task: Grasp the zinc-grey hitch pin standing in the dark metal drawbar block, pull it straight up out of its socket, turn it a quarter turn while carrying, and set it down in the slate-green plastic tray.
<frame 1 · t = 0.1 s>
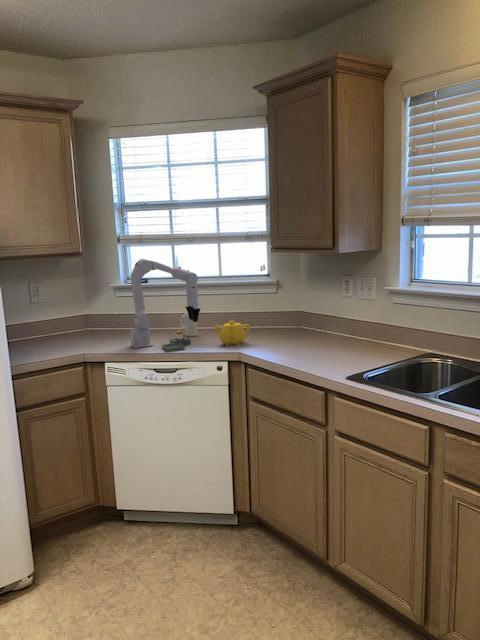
hand: (193, 320, 287), 10 cm above the counter, fingers open, 7 cm apart
drawbar block: (180, 344, 279), on the counter
teapot: (232, 345, 272), on the counter
hitch pin: (179, 337, 278), in the drawbar block
mug: (189, 335, 301), on the counter
tray: (173, 348, 269), on the counter
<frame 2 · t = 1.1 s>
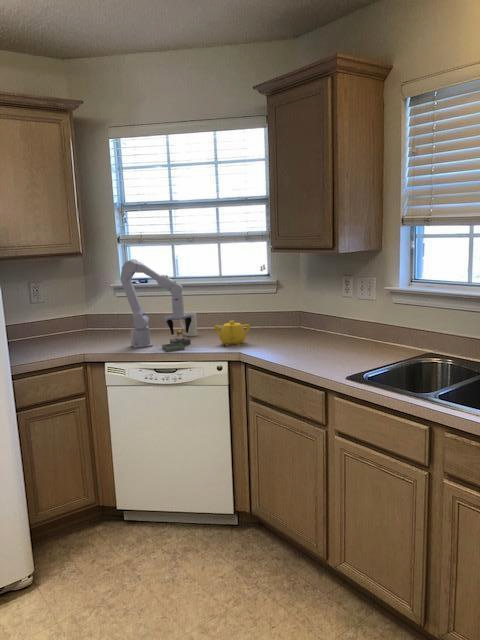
hand: (179, 333, 278), 6 cm above the counter, fingers open, 7 cm apart
nothing on the counter moved.
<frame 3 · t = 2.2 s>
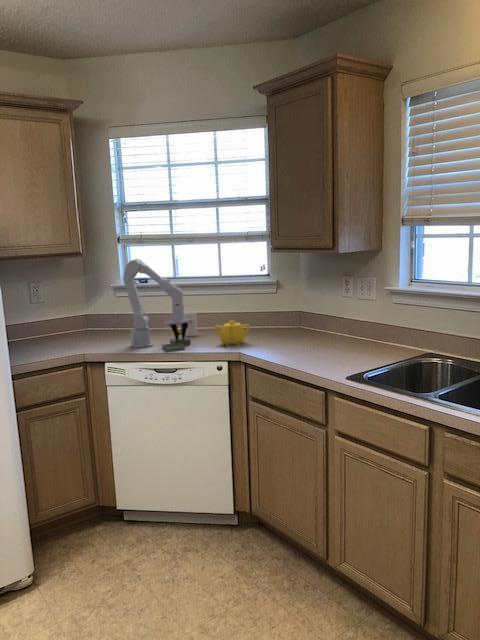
hand: (180, 338, 278), 3 cm above the counter, fingers closed on hitch pin, 3 cm apart
hitch pin: (179, 337, 278), in the drawbar block, touching gripper
everything else where it was.
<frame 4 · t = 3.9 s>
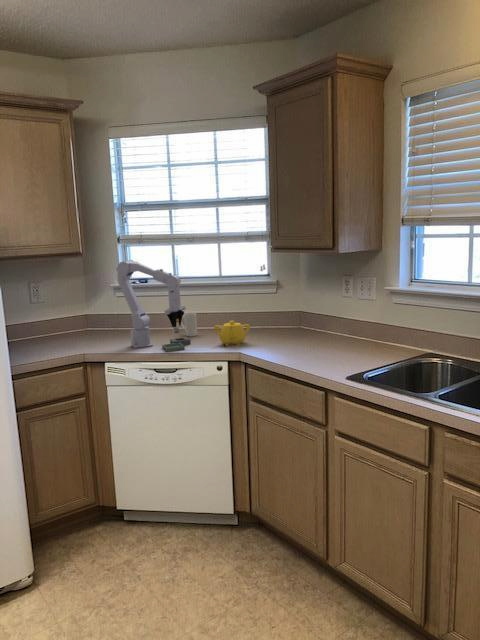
hand: (176, 326, 273), 10 cm above the counter, fingers closed on hitch pin, 3 cm apart
hitch pin: (176, 325, 273), point 10 cm above the counter, touching gripper
everything else where it was.
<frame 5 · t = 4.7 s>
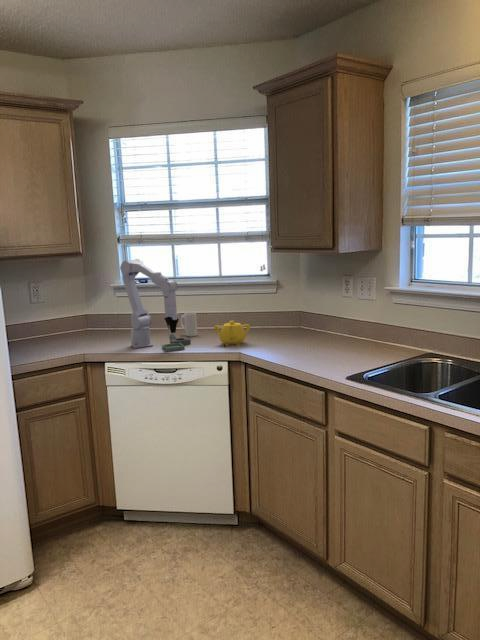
hand: (172, 332, 268), 8 cm above the counter, fingers closed on hitch pin, 3 cm apart
hitch pin: (172, 331, 267), point 9 cm above the counter, touching gripper
everything else where it was.
when the fingers open (5 cm above the counter, at t = 5.6 s): hitch pin stays where it is, resting on tray.
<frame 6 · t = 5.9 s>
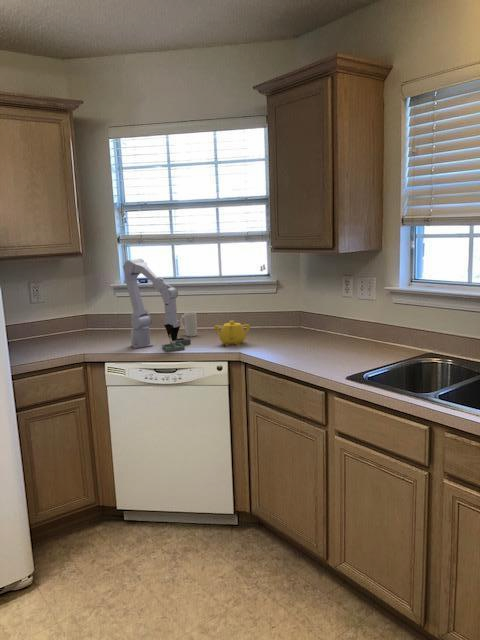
hand: (172, 339, 268), 5 cm above the counter, fingers open, 5 cm apart
hitch pin: (172, 340, 268), in the tray, point 4 cm above the counter
everything else where it was.
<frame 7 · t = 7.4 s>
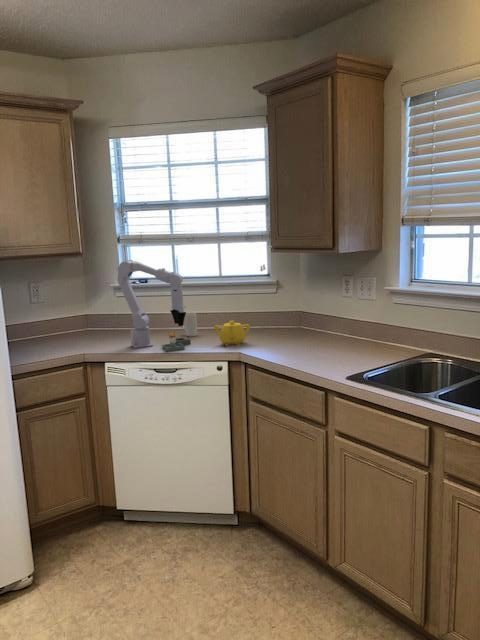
hand: (178, 324, 276), 10 cm above the counter, fingers open, 7 cm apart
nothing on the counter moved.
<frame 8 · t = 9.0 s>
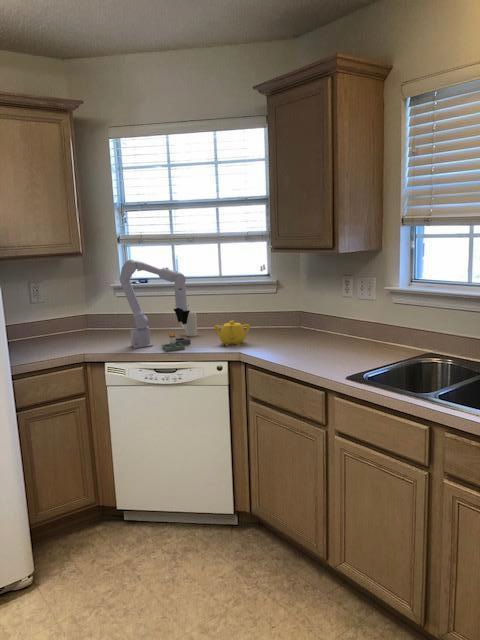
hand: (182, 322, 280), 10 cm above the counter, fingers open, 7 cm apart
nothing on the counter moved.
at the end: hitch pin inside the target area on the tray (0.1 cm from its centre), point 4.1 cm above the tray's base; hitch pin touching tray; the gripper is holding nothing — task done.
